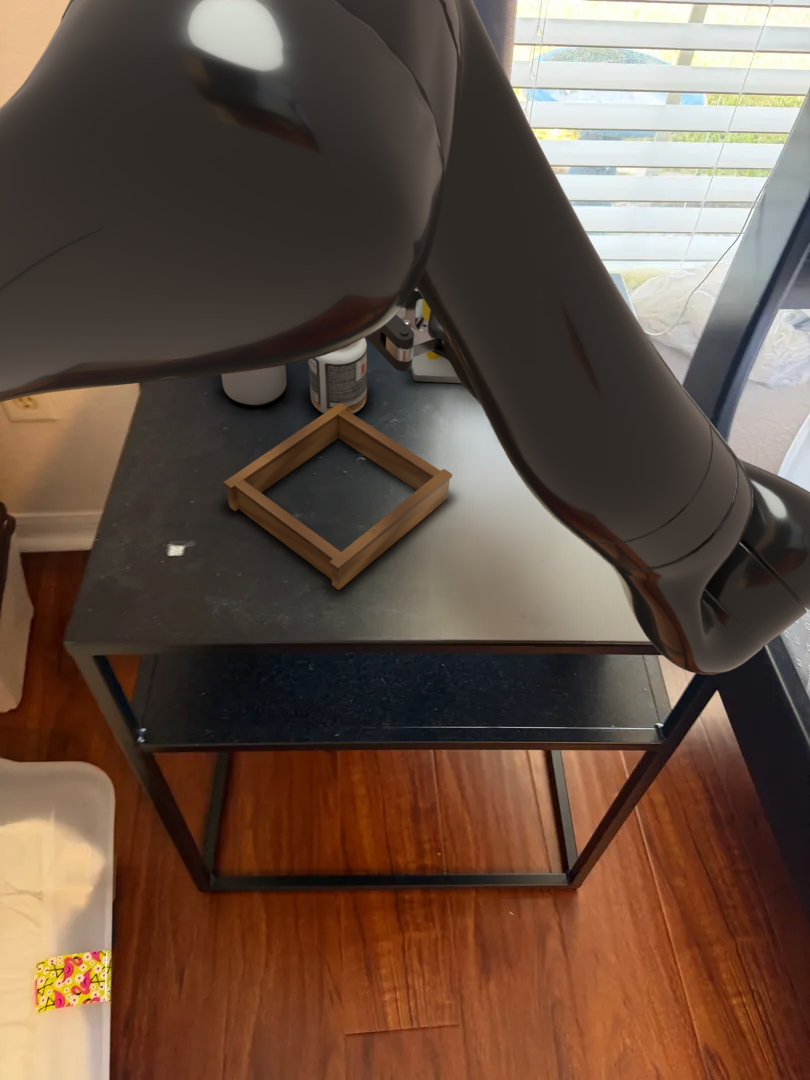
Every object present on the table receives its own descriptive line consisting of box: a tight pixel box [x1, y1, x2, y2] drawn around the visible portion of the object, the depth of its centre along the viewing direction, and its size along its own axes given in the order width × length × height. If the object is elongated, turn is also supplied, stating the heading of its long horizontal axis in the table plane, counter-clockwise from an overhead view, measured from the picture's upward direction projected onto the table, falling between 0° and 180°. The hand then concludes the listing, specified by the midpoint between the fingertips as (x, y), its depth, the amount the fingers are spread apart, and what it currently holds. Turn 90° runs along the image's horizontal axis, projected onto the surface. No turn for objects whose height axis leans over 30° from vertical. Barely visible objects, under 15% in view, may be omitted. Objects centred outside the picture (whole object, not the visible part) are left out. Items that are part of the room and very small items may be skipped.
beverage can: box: [220, 365, 288, 406], centre depth 80 cm, size 6×6×12 cm
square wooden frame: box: [223, 403, 453, 591], centre depth 74 cm, size 15×14×3 cm
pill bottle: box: [307, 337, 368, 415], centre depth 81 cm, size 6×6×10 cm
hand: (413, 248), depth 59 cm, fingers open, 8 cm apart
